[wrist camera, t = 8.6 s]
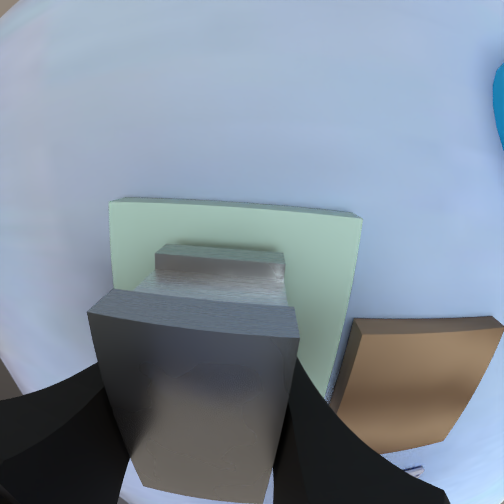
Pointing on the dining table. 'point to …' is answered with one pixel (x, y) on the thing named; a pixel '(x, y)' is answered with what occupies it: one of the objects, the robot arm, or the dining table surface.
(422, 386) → the stand
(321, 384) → the stand
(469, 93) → the dining table surface
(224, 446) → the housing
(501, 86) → the mug
